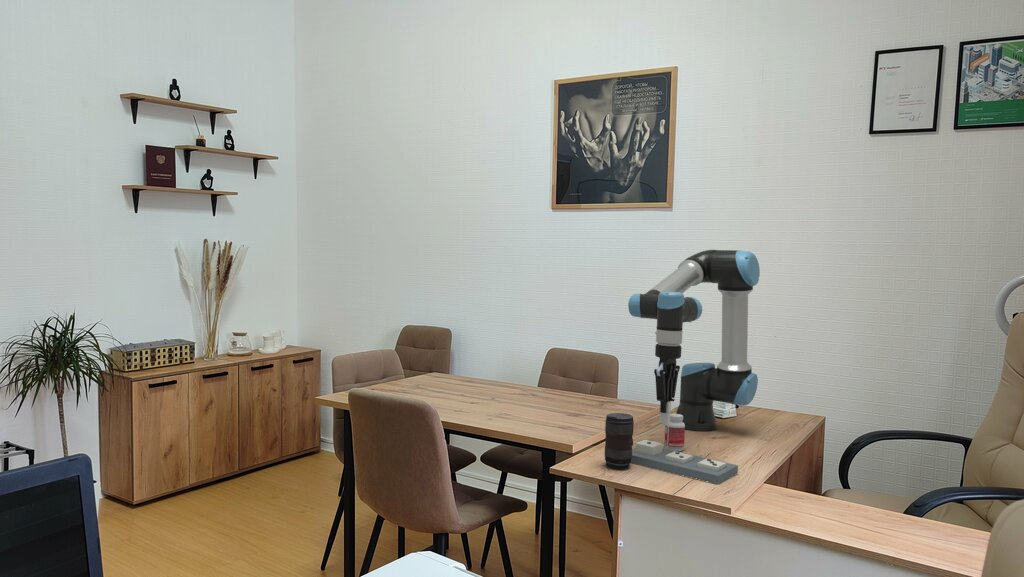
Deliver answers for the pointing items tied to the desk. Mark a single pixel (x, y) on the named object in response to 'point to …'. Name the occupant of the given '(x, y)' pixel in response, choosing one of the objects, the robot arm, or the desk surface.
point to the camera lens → (618, 440)
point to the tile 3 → (711, 464)
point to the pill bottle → (674, 433)
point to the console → (684, 466)
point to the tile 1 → (648, 447)
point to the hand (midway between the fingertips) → (664, 422)
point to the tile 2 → (679, 457)
